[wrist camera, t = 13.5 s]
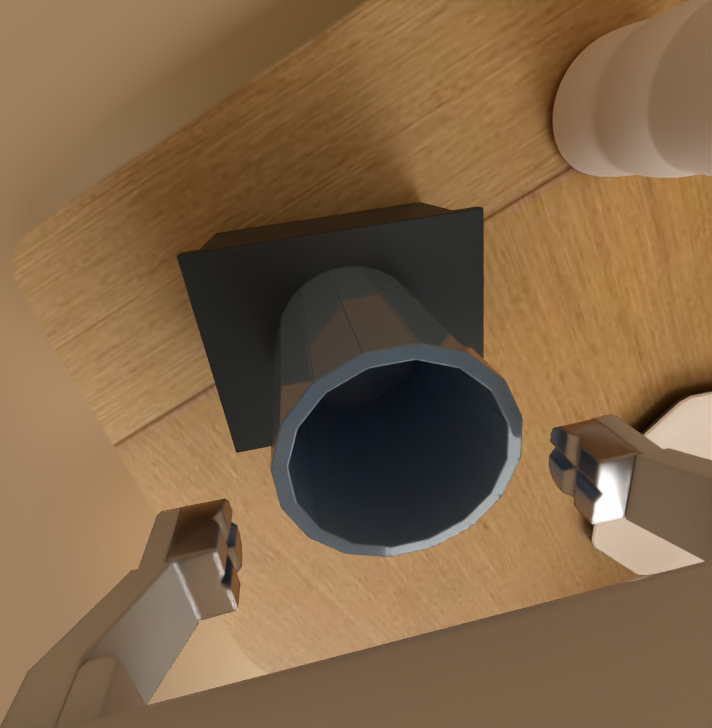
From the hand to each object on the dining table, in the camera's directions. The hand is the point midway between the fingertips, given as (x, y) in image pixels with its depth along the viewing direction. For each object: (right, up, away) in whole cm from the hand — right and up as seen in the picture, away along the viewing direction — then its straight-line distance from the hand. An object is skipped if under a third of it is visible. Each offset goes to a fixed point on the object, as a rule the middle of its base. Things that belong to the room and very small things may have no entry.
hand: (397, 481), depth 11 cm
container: (-2, +7, +16) cm, 18 cm away
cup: (-1, +4, +9) cm, 10 cm away
